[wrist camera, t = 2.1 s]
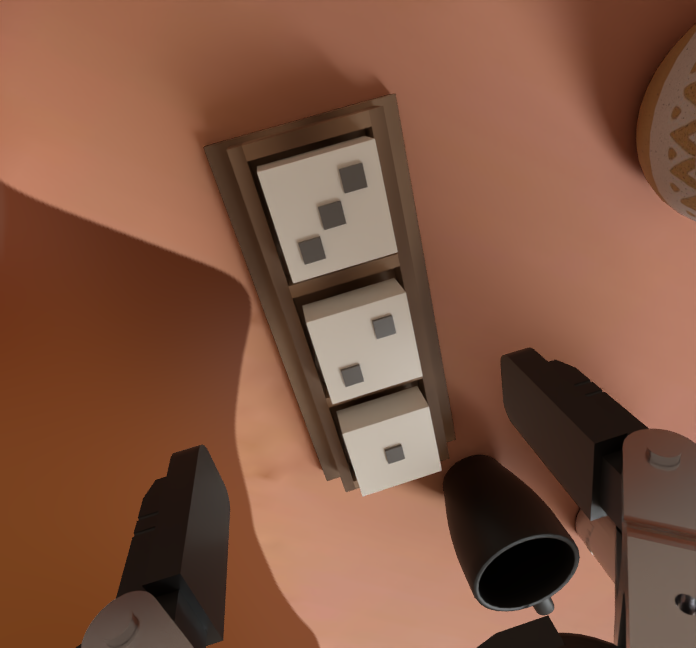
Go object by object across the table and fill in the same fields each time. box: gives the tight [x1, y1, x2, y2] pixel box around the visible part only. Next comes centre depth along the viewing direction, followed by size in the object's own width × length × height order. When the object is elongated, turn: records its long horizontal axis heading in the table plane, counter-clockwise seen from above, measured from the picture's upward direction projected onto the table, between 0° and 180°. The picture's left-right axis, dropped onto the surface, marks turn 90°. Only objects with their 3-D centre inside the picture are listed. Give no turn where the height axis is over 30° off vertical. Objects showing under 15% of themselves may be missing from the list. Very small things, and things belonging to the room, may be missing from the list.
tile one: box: [336, 386, 442, 496], centre depth 33 cm, size 6×6×3 cm
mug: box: [443, 455, 580, 615], centre depth 38 cm, size 8×12×10 cm
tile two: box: [302, 278, 423, 404], centre depth 29 cm, size 6×6×3 cm
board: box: [204, 94, 456, 492], centre depth 31 cm, size 11×26×3 cm, turn 14°
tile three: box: [257, 136, 398, 283], centre depth 25 cm, size 6×6×3 cm
